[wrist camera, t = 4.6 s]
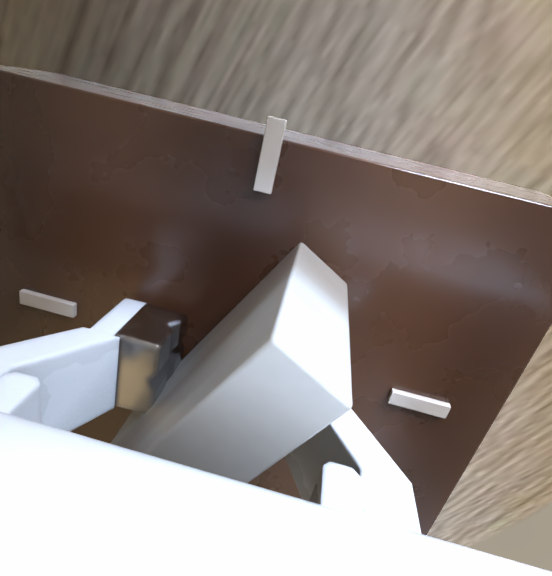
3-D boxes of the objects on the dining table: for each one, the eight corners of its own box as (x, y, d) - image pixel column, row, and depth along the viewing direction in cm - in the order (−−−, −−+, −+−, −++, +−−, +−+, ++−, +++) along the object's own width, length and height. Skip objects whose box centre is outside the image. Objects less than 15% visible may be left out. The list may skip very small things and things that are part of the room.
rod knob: (301, 240, 8) (268, 348, 5) (348, 283, 9) (356, 422, 5) (136, 405, 11) (26, 565, 7) (176, 435, 11) (91, 606, 7)
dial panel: (547, 177, 10) (630, 204, 7) (400, 473, 15) (415, 563, 12) (53, 57, 11) (-53, 37, 8) (58, 379, 15) (-8, 442, 12)
